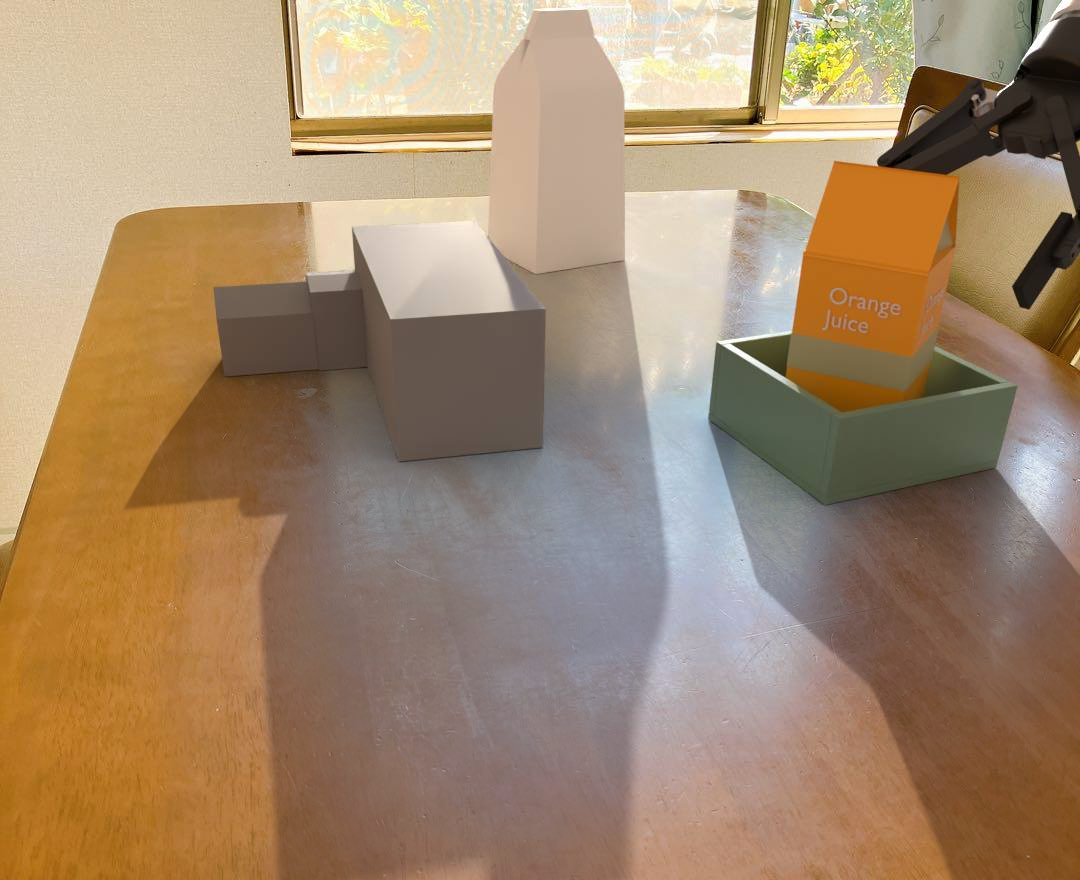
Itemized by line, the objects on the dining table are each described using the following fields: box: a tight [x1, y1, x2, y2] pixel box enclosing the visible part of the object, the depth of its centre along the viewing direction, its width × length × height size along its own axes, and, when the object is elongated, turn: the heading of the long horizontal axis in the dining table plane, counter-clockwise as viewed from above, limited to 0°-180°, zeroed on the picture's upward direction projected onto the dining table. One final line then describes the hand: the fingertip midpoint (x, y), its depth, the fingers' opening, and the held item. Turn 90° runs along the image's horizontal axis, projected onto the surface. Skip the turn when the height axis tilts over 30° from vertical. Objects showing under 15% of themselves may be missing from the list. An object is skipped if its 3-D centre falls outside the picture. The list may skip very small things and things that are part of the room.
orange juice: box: [786, 160, 960, 413], centre depth 79 cm, size 8×9×20 cm
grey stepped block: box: [212, 220, 547, 463], centre depth 87 cm, size 25×23×11 cm
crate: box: [707, 330, 1018, 506], centre depth 82 cm, size 16×16×7 cm
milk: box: [487, 7, 626, 275], centre depth 120 cm, size 12×12×26 cm
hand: (937, 276), depth 82 cm, fingers open, 13 cm apart
